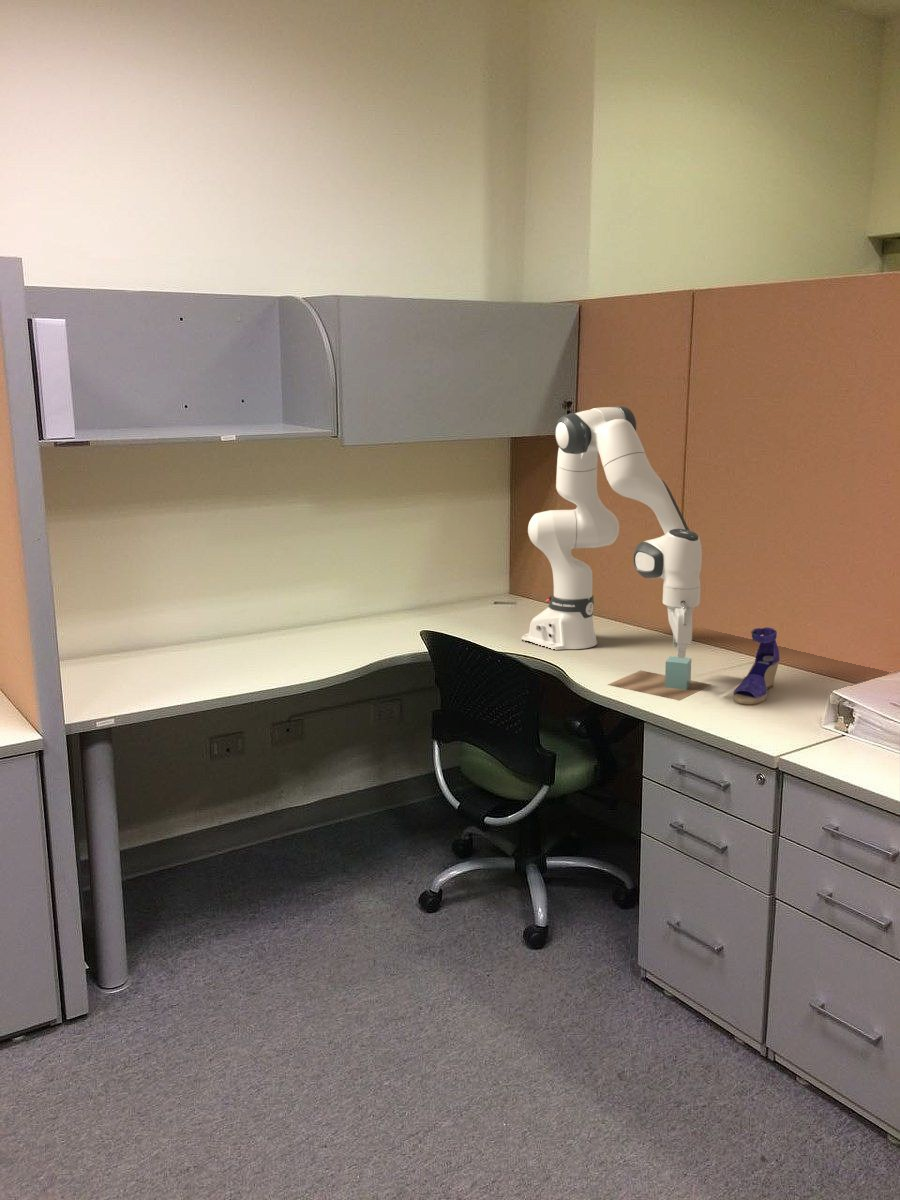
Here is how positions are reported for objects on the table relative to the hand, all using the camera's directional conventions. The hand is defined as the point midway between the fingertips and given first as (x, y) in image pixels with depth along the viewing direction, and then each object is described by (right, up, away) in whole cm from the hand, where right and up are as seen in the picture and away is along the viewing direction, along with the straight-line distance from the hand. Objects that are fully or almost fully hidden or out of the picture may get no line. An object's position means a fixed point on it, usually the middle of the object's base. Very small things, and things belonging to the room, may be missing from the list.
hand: (679, 651), depth 246 cm
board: (-4, -9, +3) cm, 10 cm away
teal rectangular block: (0, -8, +1) cm, 9 cm away
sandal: (+18, -10, -4) cm, 21 cm away
